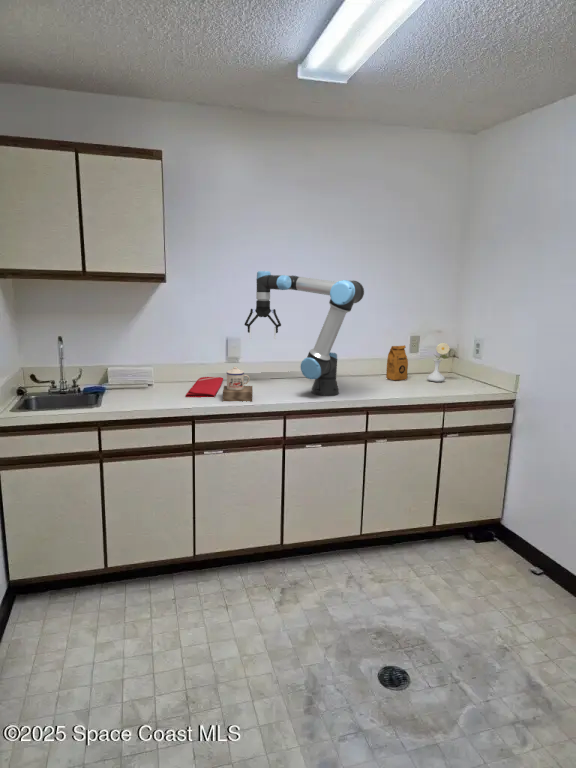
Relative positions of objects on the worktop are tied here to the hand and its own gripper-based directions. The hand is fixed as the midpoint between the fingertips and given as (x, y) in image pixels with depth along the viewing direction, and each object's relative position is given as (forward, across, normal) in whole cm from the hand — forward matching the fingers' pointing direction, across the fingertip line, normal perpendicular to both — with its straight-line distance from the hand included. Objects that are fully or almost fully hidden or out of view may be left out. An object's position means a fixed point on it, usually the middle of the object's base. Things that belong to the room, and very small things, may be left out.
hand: (262, 338), depth 283 cm
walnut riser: (+29, +13, +22) cm, 38 cm away
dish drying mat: (+29, +32, 0) cm, 43 cm away
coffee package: (+29, -87, -32) cm, 97 cm away
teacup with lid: (+24, +13, +22) cm, 35 cm away
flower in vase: (+29, -112, -28) cm, 119 cm away
